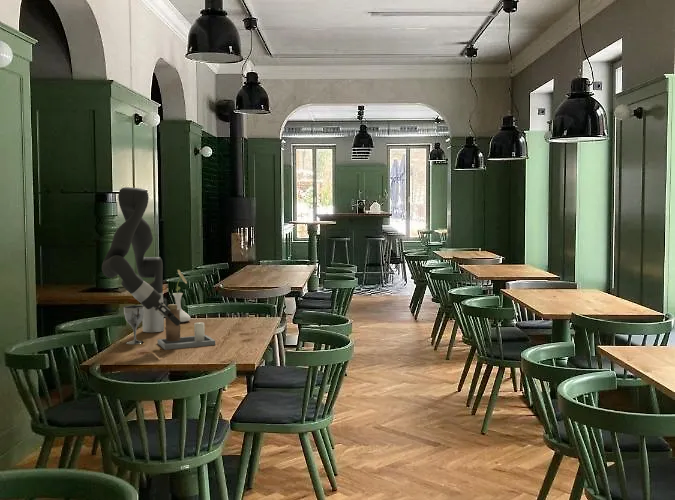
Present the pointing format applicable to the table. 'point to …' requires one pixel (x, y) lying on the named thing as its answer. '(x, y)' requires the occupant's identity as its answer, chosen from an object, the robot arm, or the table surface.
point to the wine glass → (134, 319)
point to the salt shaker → (199, 331)
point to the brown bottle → (171, 328)
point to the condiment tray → (185, 343)
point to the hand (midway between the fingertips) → (177, 322)
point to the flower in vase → (183, 315)
